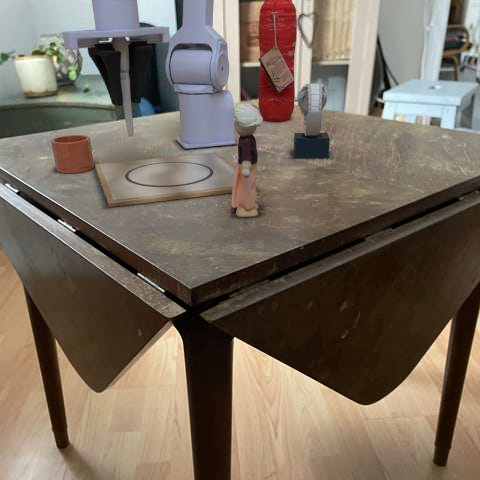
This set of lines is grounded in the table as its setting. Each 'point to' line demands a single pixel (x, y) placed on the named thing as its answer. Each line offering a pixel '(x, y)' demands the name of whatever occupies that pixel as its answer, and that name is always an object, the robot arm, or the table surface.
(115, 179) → the sketch board
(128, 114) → the pen
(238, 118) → the grandmother figurine
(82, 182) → the table surface
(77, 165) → the pen pot
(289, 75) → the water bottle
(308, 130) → the watch
